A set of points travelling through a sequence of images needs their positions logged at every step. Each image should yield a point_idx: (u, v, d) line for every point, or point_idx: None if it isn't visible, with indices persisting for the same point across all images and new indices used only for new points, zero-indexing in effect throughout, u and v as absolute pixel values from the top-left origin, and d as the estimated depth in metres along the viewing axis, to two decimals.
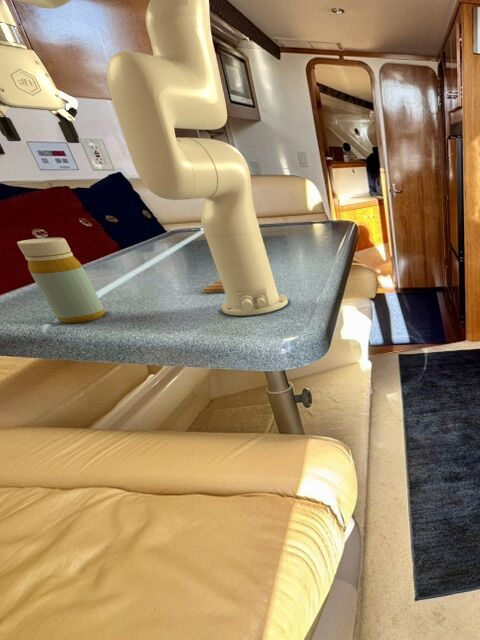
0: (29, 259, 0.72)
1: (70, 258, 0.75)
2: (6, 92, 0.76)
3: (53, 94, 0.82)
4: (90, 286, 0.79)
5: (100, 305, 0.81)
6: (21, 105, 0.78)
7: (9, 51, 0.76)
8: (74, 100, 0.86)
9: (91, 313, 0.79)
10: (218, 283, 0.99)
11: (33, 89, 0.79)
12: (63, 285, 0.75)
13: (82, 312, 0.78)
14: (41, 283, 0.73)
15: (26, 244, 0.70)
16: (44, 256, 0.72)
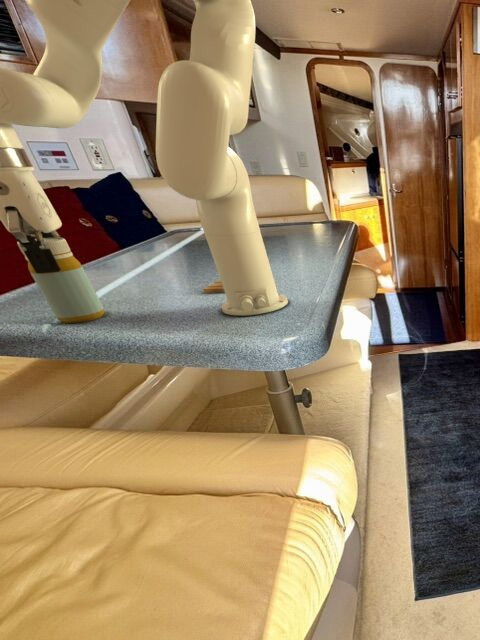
0: None
1: (70, 258, 0.75)
2: (43, 220, 0.70)
3: (54, 212, 0.75)
4: (90, 286, 0.79)
5: (100, 305, 0.81)
6: (51, 230, 0.72)
7: (28, 176, 0.69)
8: None
9: (91, 313, 0.79)
10: (218, 283, 0.99)
11: (48, 211, 0.72)
12: (63, 285, 0.75)
13: (82, 312, 0.78)
14: (41, 283, 0.73)
15: None
16: None
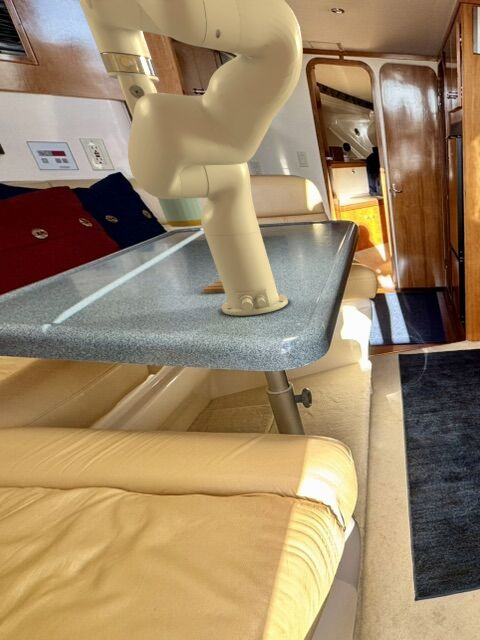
0: None
1: None
2: None
3: None
4: None
5: None
6: None
7: None
8: None
9: (197, 219, 0.88)
10: (218, 283, 0.99)
11: None
12: None
13: (191, 217, 0.87)
14: None
15: None
16: None
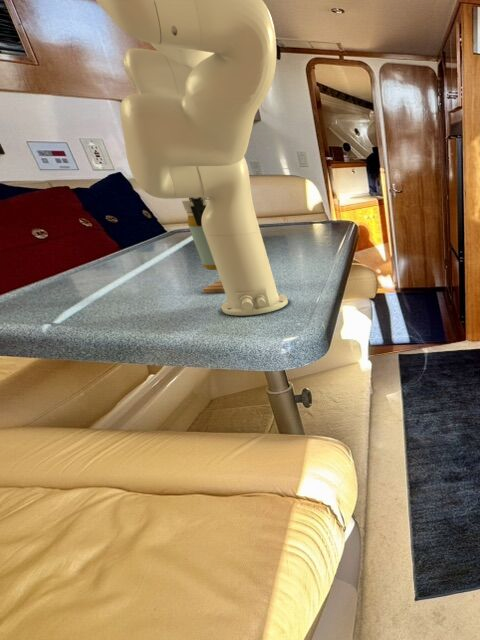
0: (190, 214, 0.88)
1: None
2: None
3: None
4: None
5: None
6: None
7: None
8: None
9: None
10: (218, 283, 0.99)
11: None
12: None
13: None
14: (198, 235, 0.90)
15: None
16: None
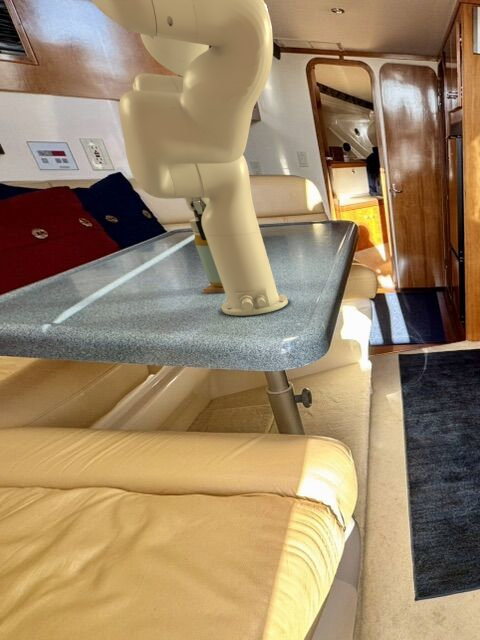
0: (197, 234, 0.90)
1: None
2: None
3: None
4: None
5: None
6: None
7: None
8: None
9: None
10: None
11: None
12: None
13: None
14: (204, 254, 0.92)
15: None
16: None
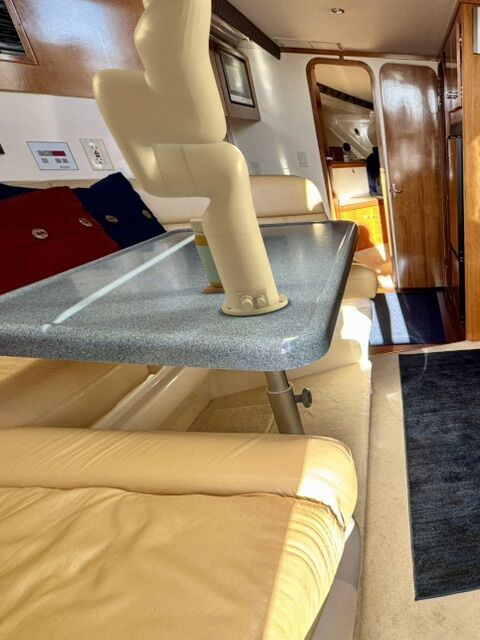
0: (198, 234, 0.90)
1: None
2: None
3: None
4: None
5: None
6: None
7: None
8: None
9: None
10: None
11: None
12: None
13: None
14: (204, 254, 0.92)
15: (198, 222, 0.89)
16: None
